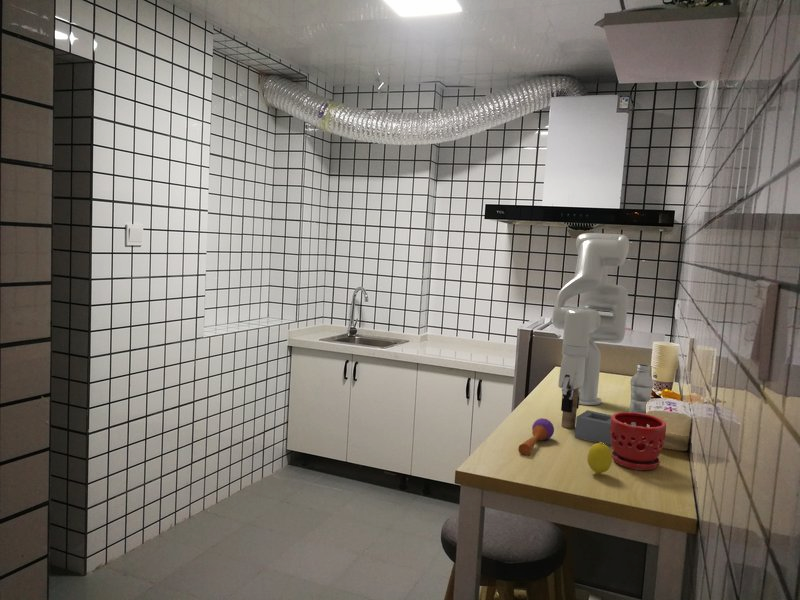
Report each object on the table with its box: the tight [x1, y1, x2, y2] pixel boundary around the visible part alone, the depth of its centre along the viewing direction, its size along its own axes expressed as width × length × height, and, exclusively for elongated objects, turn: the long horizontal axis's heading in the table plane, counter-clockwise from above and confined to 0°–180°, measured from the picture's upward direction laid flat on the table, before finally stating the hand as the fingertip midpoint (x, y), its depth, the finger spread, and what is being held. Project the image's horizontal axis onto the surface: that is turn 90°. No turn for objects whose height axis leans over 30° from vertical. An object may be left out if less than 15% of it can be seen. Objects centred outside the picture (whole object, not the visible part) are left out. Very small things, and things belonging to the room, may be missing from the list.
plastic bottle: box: [628, 363, 654, 427], centre depth 186 cm, size 6×7×20 cm
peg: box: [561, 387, 579, 430], centre depth 184 cm, size 4×4×14 cm
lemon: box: [587, 442, 613, 475], centre depth 146 cm, size 6×6×8 cm
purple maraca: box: [518, 417, 555, 457], centre depth 165 cm, size 6×6×20 cm
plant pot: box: [610, 411, 667, 471], centre depth 154 cm, size 13×13×12 cm
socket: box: [574, 409, 613, 446], centre depth 176 cm, size 10×10×6 cm
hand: (569, 409), depth 184 cm, fingers open, 5 cm apart
